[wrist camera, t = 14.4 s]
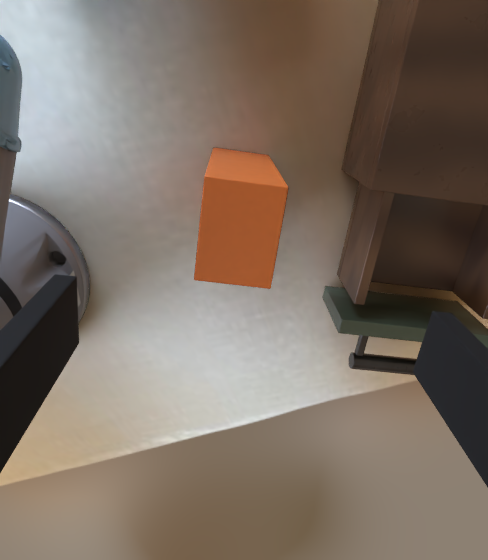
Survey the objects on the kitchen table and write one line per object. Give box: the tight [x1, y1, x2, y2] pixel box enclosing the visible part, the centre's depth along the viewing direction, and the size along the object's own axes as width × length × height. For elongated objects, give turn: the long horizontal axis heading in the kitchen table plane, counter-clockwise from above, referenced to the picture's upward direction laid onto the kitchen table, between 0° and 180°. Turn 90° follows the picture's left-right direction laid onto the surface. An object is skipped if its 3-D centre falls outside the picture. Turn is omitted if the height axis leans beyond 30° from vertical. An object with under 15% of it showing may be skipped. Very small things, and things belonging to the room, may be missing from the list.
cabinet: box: [342, 0, 488, 206], centre depth 30 cm, size 16×14×8 cm
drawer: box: [323, 182, 488, 375], centre depth 35 cm, size 19×12×6 cm, turn 172°
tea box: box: [194, 148, 288, 289], centre depth 30 cm, size 6×4×13 cm
